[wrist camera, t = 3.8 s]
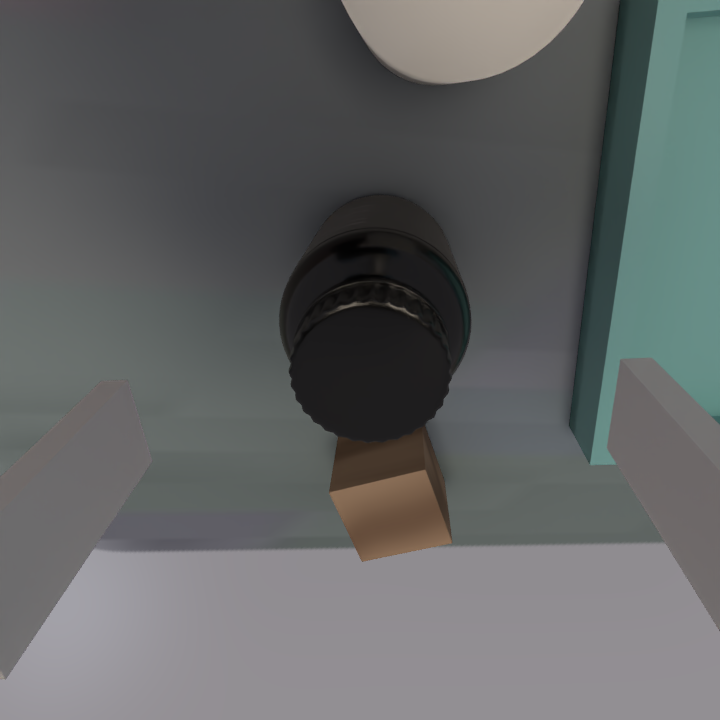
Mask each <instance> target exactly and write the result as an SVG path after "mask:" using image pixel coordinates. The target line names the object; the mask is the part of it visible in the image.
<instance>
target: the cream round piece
mask: <svg viewBox="0 0 720 720" xmlns="http://www.w3.org/2000/svg"><path fill="white" fill-rule="evenodd" d="M341 1H342V3H343V5H344V7H345V9H346V11H347V13H348V14H349V16H350V18H351V20H352V22H353V23H354V25H355V27H356V28H357V30H358V32H359V33H360V35H361V37H362V38H363V40H364V42H365V43H366V45H367V46H368V48H369V49H370V51H371V52H372V54H373V55H374V56H375V57H376V58H377V60H378V61H379V62H380V63H381V64H382V65H383V66H385V67H386V68H387V69H388V70H389V71H391V72H392V73H394V74H395V75H397V76H398V77H401V78H403V79H405V80H407V81H410V82H414V83H417V84H423V85H446V84H453V83H460V82H467V81H473V80H480V79H485V78H488V77H491V76H494V75H498V74H501V73H503V72H505V71H507V70H509V69H512V68H514V67H516V66H518V65H519V64H521V63H523V62H524V61H526V60H527V59H529V58H531V57H532V56H534V55H535V54H536V53H537V52H539V51H540V50H541V49H542V48H544V47H545V46H546V45H547V44H549V43H550V42H551V41H552V40H553V39H554V38H555V37H556V36H557V35H558V34H559V33H560V32H561V31H562V30H563V29H564V27H565V26H566V25H567V24H568V22H569V21H570V20H571V19H572V17H573V16H574V15H575V13H576V12H577V11H578V9H579V8H580V6H581V5H582V3H583V1H584V0H341Z"/></svg>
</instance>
